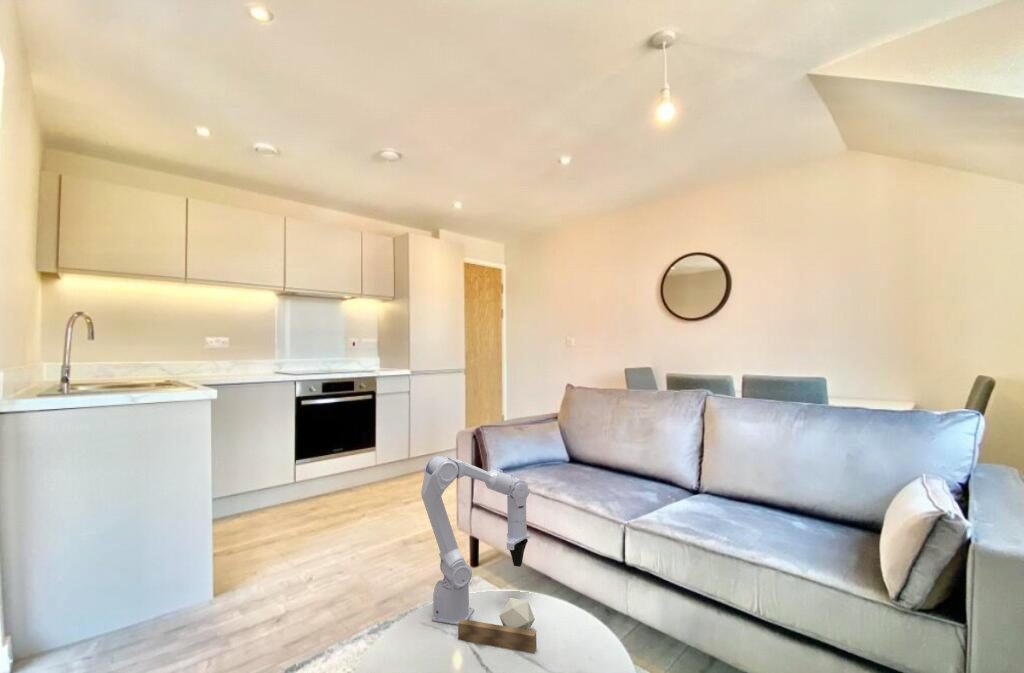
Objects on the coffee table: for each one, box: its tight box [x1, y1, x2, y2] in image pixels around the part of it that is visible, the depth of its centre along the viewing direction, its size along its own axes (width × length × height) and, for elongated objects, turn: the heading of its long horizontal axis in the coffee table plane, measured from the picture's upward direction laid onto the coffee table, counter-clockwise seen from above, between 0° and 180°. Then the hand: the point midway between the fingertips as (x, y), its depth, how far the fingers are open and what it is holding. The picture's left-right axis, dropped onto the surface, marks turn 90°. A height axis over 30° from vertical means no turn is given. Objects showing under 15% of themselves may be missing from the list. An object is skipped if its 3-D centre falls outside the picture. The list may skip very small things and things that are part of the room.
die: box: [498, 597, 536, 630], centre depth 113 cm, size 8×9×10 cm
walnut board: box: [457, 619, 537, 654], centre depth 108 cm, size 20×2×4 cm, turn 73°
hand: (517, 565), depth 130 cm, fingers closed
